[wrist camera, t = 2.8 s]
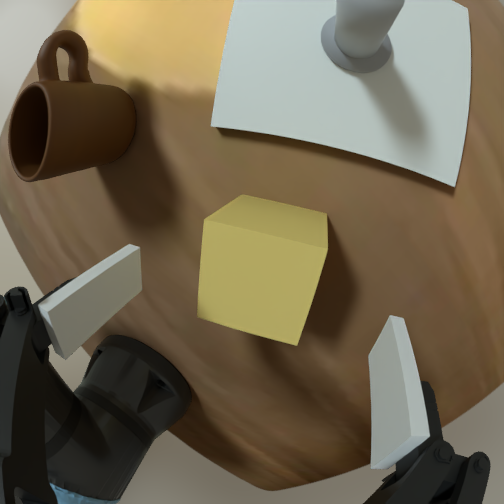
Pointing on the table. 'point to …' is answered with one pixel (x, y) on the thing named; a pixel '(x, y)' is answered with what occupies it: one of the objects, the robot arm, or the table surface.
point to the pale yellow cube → (261, 266)
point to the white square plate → (352, 77)
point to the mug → (67, 117)
